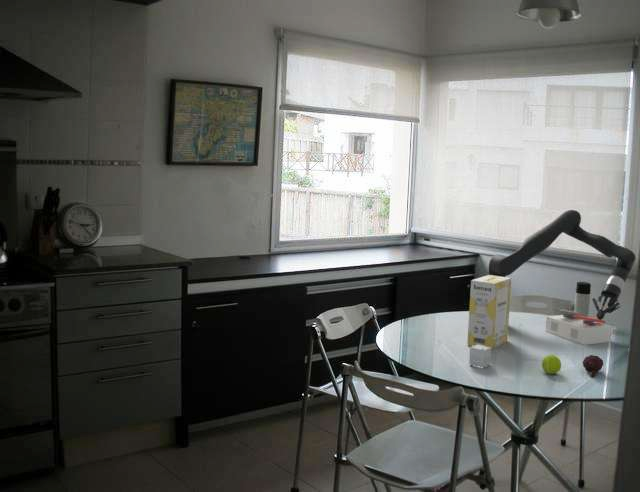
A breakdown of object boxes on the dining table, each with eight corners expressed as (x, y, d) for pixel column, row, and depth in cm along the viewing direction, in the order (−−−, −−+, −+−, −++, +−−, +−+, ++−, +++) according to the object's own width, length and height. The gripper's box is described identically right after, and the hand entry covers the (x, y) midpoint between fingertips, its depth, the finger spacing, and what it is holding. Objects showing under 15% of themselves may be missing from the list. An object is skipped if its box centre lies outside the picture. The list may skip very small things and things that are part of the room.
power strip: (583, 344, 313) (584, 326, 312) (545, 331, 334) (546, 313, 333) (611, 341, 319) (612, 323, 318) (572, 328, 341) (573, 311, 340)
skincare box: (476, 362, 283) (477, 344, 282) (490, 365, 279) (491, 347, 278) (468, 365, 278) (469, 347, 277) (483, 369, 274) (484, 350, 273)
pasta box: (490, 349, 301) (494, 283, 297) (467, 345, 307) (471, 280, 303) (507, 340, 315) (511, 277, 312) (484, 336, 322) (488, 274, 318)
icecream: (582, 349, 282) (579, 363, 268) (602, 347, 278) (600, 361, 265) (585, 366, 282) (582, 380, 269) (605, 364, 279) (603, 379, 266)
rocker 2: (581, 320, 315) (582, 316, 315) (572, 317, 320) (573, 313, 319) (604, 324, 321) (605, 321, 321) (595, 321, 325) (596, 318, 325)
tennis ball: (556, 370, 275) (558, 353, 274) (563, 376, 268) (564, 358, 267) (538, 370, 274) (539, 352, 273) (544, 376, 267) (546, 358, 266)
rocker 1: (561, 313, 326) (562, 310, 326) (553, 311, 331) (554, 307, 331) (584, 317, 332) (584, 314, 332) (576, 315, 337) (576, 312, 337)
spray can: (585, 321, 355) (589, 281, 353) (589, 325, 349) (592, 284, 346) (571, 321, 356) (575, 281, 353) (575, 324, 349) (578, 283, 347)
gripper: (629, 295, 326) (615, 326, 319) (601, 290, 335) (587, 320, 329) (625, 285, 322) (611, 316, 315) (596, 280, 331) (582, 310, 324)
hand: (599, 318), depth 322 cm, fingers closed
